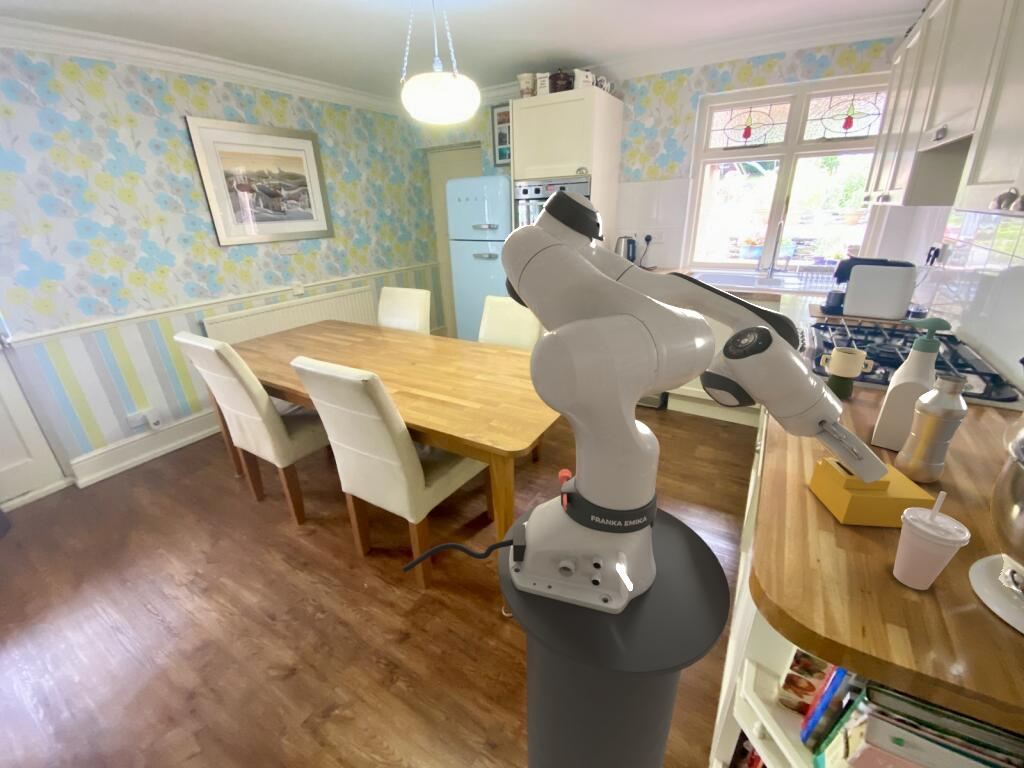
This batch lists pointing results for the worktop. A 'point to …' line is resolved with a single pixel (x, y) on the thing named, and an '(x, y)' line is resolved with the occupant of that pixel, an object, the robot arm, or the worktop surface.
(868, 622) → the worktop surface
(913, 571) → the smoothie
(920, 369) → the soap bottle
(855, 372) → the character mug
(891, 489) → the stepped yellow pedestal
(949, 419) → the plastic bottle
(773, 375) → the robot arm
